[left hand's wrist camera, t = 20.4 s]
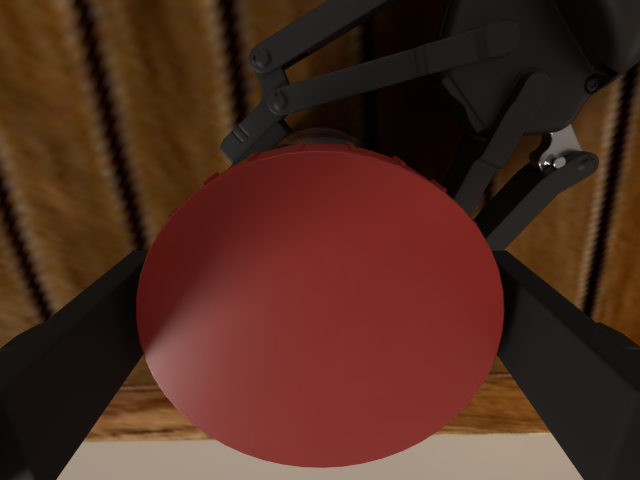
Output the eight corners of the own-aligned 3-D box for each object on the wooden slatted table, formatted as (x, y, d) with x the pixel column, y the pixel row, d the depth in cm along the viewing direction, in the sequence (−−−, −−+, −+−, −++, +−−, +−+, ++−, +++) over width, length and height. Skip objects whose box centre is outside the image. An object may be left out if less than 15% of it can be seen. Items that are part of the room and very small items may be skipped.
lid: (227, 452, 14) (215, 496, 12) (97, 198, 11) (59, 215, 9) (499, 392, 13) (524, 432, 11) (454, 91, 10) (479, 89, 8)
